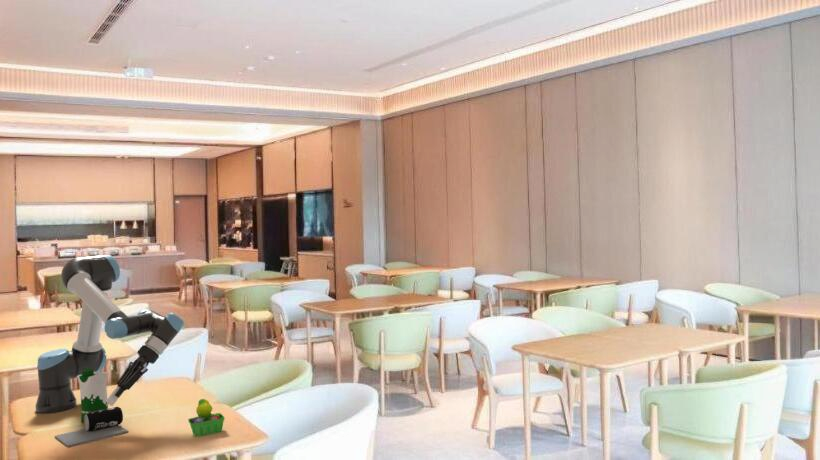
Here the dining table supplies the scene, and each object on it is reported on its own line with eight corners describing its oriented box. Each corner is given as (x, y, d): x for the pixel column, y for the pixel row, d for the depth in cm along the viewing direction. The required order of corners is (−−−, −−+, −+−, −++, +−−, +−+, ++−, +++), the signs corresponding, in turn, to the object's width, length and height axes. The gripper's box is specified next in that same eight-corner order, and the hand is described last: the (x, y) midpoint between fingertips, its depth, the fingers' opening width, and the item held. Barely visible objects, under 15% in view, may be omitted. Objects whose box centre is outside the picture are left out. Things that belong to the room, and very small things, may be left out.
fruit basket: (192, 438, 233) (190, 406, 233) (187, 432, 241) (185, 400, 241) (226, 432, 239) (224, 400, 238) (220, 425, 247) (218, 394, 246)
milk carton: (77, 423, 260) (74, 370, 259) (97, 416, 268) (94, 365, 267) (94, 425, 256) (90, 372, 255) (113, 418, 264) (110, 366, 264)
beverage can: (122, 407, 251) (87, 415, 244) (124, 425, 251) (89, 433, 244) (117, 404, 256) (83, 411, 249) (118, 422, 256) (84, 429, 249)
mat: (54, 437, 243) (54, 435, 243) (112, 423, 256) (112, 422, 256) (68, 447, 231) (67, 445, 231) (128, 432, 244) (128, 430, 244)
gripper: (137, 342, 262) (94, 395, 251) (150, 346, 252) (106, 401, 241) (152, 353, 265) (110, 406, 255) (165, 357, 256) (123, 412, 245)
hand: (108, 403), depth 248 cm, fingers closed
